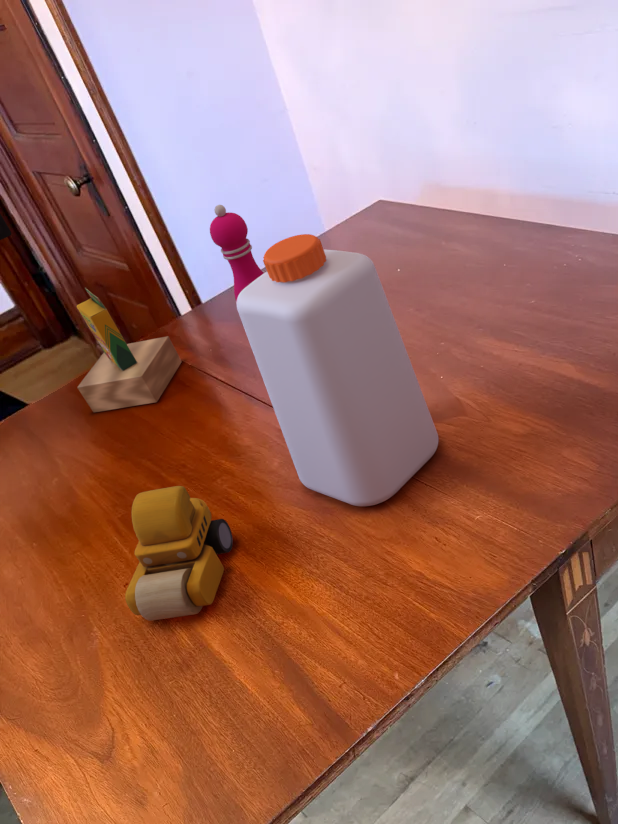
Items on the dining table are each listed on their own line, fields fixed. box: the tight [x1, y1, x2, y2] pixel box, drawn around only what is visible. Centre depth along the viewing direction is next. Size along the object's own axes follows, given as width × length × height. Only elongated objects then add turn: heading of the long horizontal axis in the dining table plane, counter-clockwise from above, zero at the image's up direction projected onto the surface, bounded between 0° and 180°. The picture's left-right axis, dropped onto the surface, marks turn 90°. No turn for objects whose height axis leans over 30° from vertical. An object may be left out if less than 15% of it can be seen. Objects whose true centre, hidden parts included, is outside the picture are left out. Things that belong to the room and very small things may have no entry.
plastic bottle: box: [235, 233, 439, 507], centre depth 83 cm, size 15×15×28 cm
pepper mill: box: [209, 204, 265, 303], centre depth 124 cm, size 7×7×20 cm
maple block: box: [77, 335, 183, 413], centre depth 123 cm, size 12×12×5 cm
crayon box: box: [76, 287, 137, 371], centre depth 118 cm, size 7×3×12 cm, turn 36°
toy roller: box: [124, 485, 234, 622], centre depth 82 cm, size 9×14×10 cm, turn 177°
